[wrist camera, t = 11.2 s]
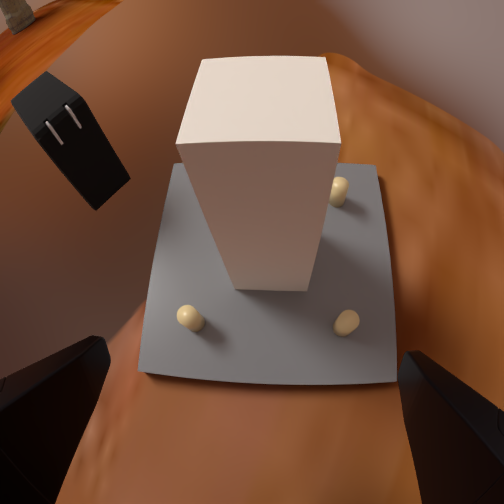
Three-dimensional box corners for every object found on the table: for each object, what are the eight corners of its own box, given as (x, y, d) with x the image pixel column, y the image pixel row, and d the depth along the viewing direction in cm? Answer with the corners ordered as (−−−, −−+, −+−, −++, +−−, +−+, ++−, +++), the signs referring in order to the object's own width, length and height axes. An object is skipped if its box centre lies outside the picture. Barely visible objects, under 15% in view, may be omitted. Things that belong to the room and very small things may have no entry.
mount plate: (391, 381, 18) (408, 379, 15) (143, 372, 19) (124, 368, 17) (372, 172, 24) (381, 148, 22) (177, 171, 26) (167, 147, 23)
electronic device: (87, 138, 29) (44, 68, 20) (134, 181, 26) (83, 95, 17) (57, 164, 28) (8, 99, 19) (98, 215, 25) (34, 137, 16)
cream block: (306, 291, 20) (341, 143, 8) (234, 289, 20) (175, 143, 8) (306, 227, 22) (325, 57, 10) (240, 225, 22) (202, 59, 10)
